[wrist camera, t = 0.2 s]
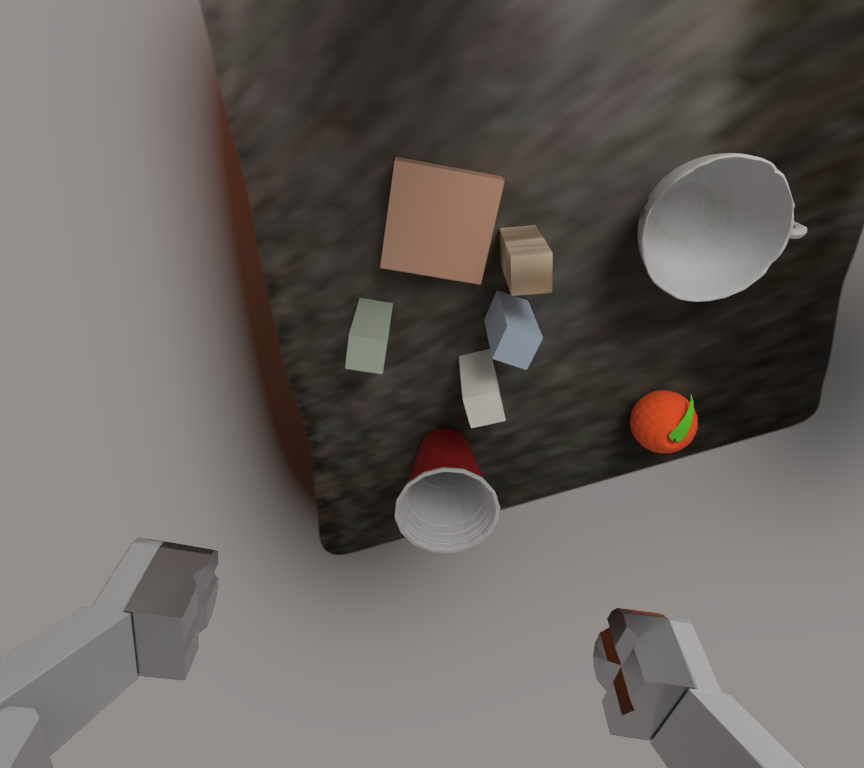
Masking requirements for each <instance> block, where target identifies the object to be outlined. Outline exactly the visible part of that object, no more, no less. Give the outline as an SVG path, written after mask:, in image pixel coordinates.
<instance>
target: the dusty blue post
mask: <svg viewBox="0 0 864 768" xmlns="http://www.w3.org/2000/svg"><path fill="white" fill-rule="evenodd" d="M484 322H485V326H486V331H487V336H488V341H489V346H490V351H491V356H492V359H494V360H497V361H501V362H504V363H507V364H510V365H513V366H516V367H519V368H522V369H525V370H527V369H528V367H529V365H530V363H531V361H532V359H533V357H534V355H535V353H536V351H537V349H538V347H539V345H540V343H541V341H542V339H543V337H542V334H541V332H540V329H539V327H538V324H537V322H536V319H535V317H534V314H533V312H532V309H531V307H530V304H529V302H528V301H527V300H524V299H521V298H519V297H516V296H511V295H510V294H507V293H504V292H501V291H499V290H497V291H496V294H495V296H494V298H493V301H492V303H491V305H490V307H489V310H488V312H487V314H486V316H485V319H484Z"/></svg>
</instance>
